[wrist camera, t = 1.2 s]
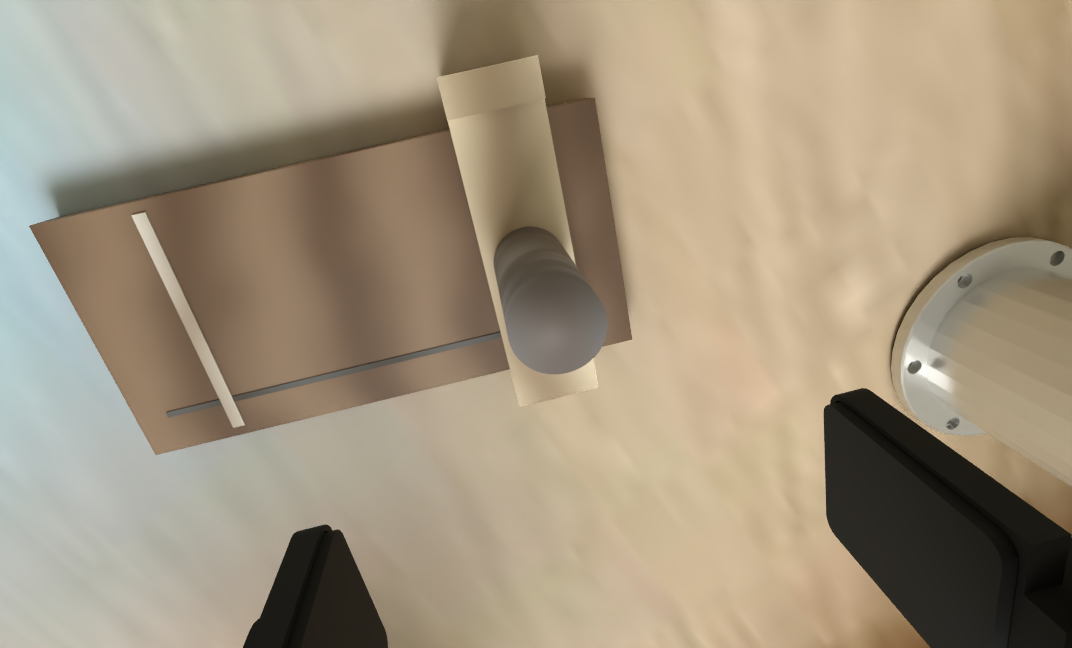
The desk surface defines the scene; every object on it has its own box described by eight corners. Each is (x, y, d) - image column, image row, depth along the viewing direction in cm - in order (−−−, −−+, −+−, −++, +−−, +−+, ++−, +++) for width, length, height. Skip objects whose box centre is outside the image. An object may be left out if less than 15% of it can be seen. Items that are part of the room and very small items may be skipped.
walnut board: (585, 98, 28) (595, 98, 26) (622, 325, 32) (632, 340, 30) (59, 217, 27) (27, 226, 25) (173, 433, 31) (154, 456, 29)
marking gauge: (525, 61, 26) (573, 34, 15) (582, 354, 32) (647, 489, 21) (440, 80, 26) (425, 67, 15) (512, 371, 32) (540, 516, 21)
